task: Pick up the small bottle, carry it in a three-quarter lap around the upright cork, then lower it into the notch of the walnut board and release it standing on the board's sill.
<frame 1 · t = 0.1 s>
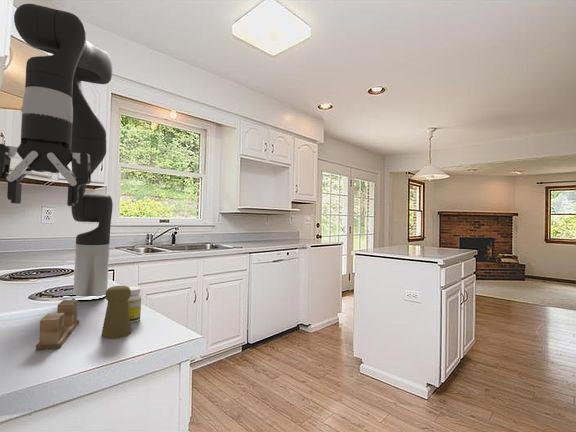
hand: (44, 204, 59), 29 cm above the counter, tool pointing down, fingers open, 8 cm apart
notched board: (59, 335, 71), on the counter
supplement bottle: (130, 321, 82), on the counter
cork: (116, 334, 73), on the counter
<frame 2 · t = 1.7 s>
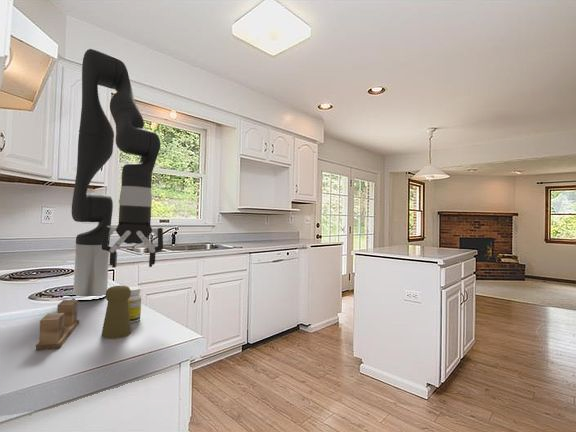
hand: (132, 266, 82), 14 cm above the counter, tool pointing down, fingers open, 8 cm apart
nothing on the counter moved.
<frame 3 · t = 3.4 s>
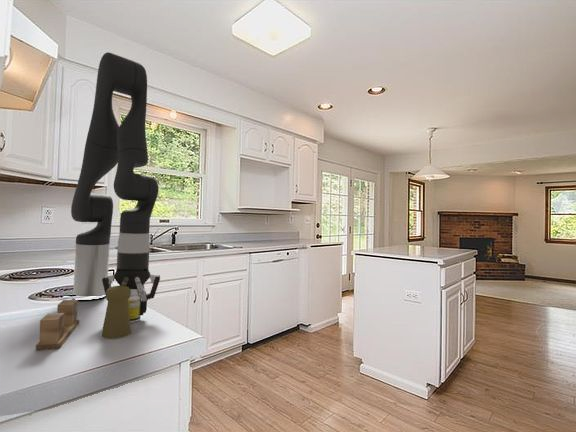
hand: (130, 314, 82), 1 cm above the counter, tool pointing down, fingers closed on supplement bottle, 4 cm apart
supplement bottle: (130, 321, 82), on the counter, touching gripper
everything else where it was.
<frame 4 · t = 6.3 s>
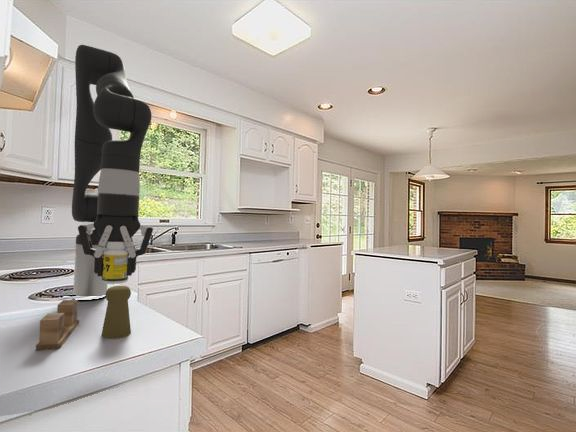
hand: (115, 275, 65), 15 cm above the counter, tool pointing down, fingers closed on supplement bottle, 4 cm apart
supplement bottle: (114, 282, 65), point 14 cm above the counter, touching gripper
everything else where it was.
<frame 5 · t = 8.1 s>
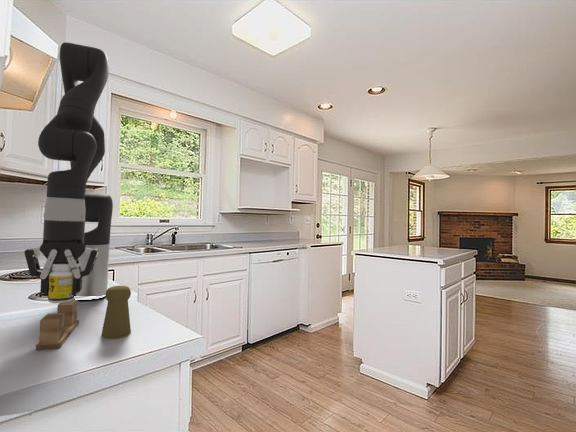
hand: (61, 294, 71), 9 cm above the counter, tool pointing down, fingers closed on supplement bottle, 4 cm apart
supplement bottle: (61, 301, 71), point 8 cm above the counter, touching gripper
everything else where it was.
when the fingers open (4 cm above the counter, at t = 9.4 s): supplement bottle drops 1 cm, resting on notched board.
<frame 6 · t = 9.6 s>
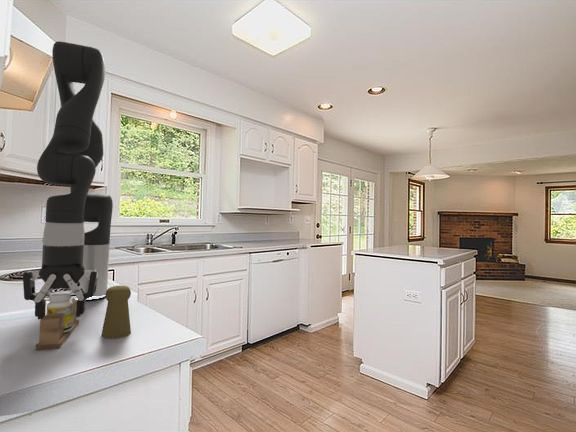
hand: (60, 316, 71), 4 cm above the counter, tool pointing down, fingers open, 6 cm apart
supplement bottle: (59, 331, 71), point 1 cm above the counter, touching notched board
everything else where it was.
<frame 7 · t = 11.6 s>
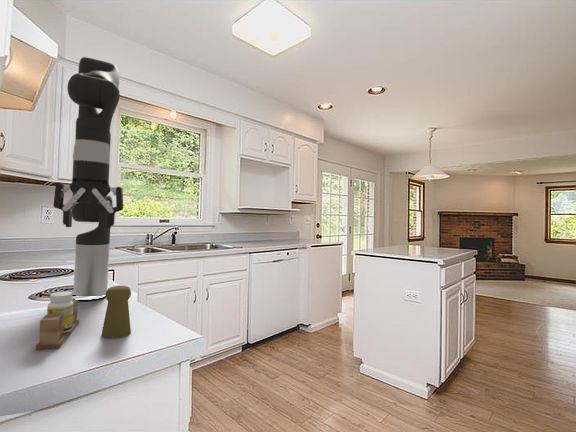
hand: (89, 227, 77), 24 cm above the counter, tool pointing down, fingers open, 8 cm apart
nothing on the counter moved.
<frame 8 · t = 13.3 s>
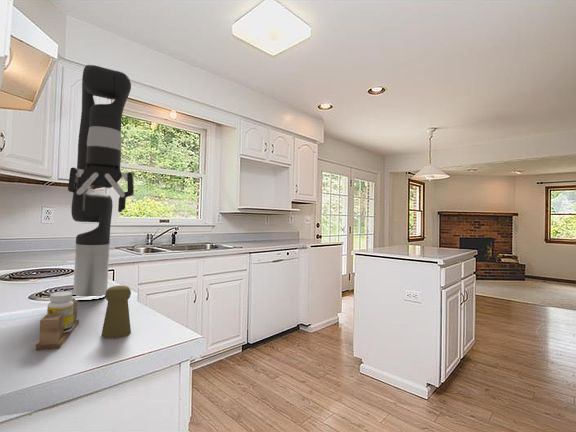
hand: (101, 211, 80), 28 cm above the counter, tool pointing down, fingers open, 8 cm apart
nothing on the counter moved.
at the end: supplement bottle 0.1 cm off-centre on the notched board, point 0.8 cm above the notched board's base; supplement bottle tilted 0°; the gripper is holding nothing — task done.
